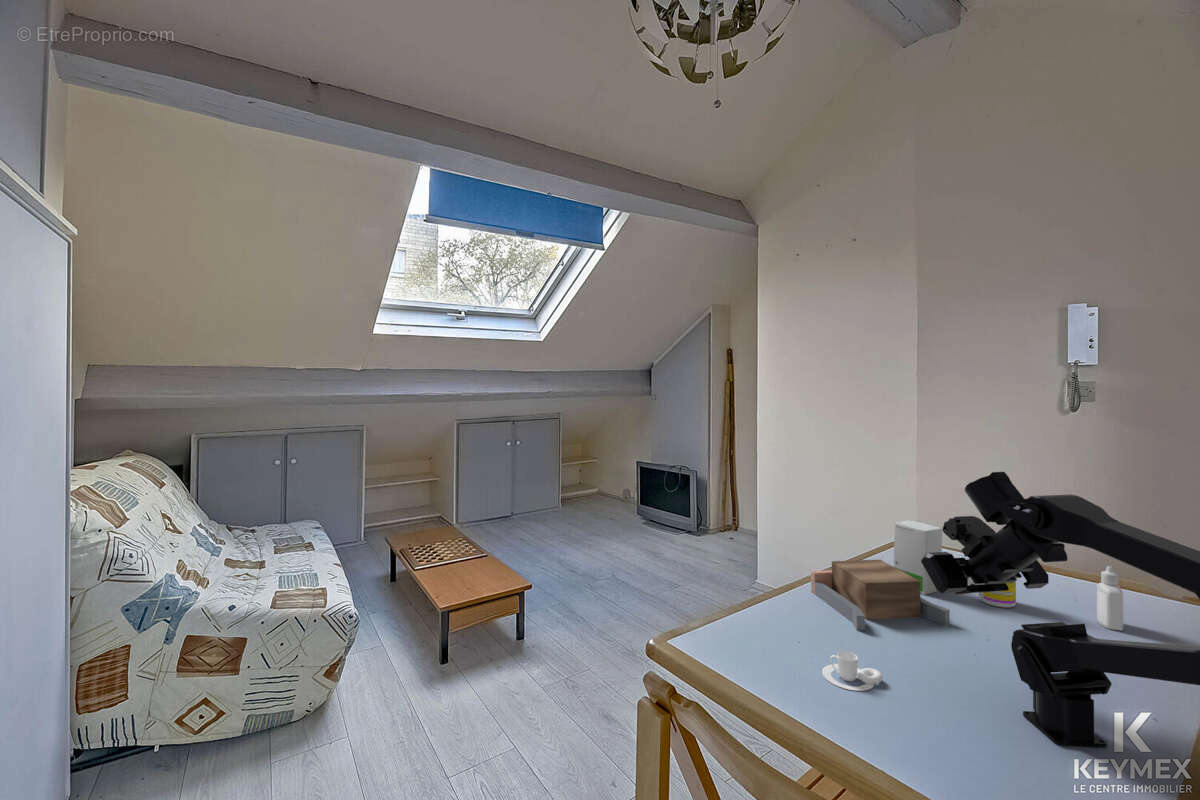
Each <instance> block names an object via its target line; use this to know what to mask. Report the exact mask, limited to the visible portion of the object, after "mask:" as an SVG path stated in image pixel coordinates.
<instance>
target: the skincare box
mask: <svg viewBox="0 0 1200 800" xmlns="http://www.w3.org/2000/svg"><path fill="white" fill-rule="evenodd" d="M893 532H894V539H893V567H895V568H897V569H898V570H900V571H902V572H904V573H906V574H908V575H910V576H911V577H913V578H915V579H917V580H919V581H920V595H924V596H928V595H930V594H933V593H937V592H939V591H938V590H937V589H936V587H935V585H934V584H933V582H932V580H931V578H930V577H929V575H928V573H927V571H926V570H925V568H924V566H923V564H922V562H921V559H922V558H923V557H924V556H925V555H926V554H927V553H934V552H943V551H942V550H943V546H942V545H943V527H942V528H941V527H938V526H934V525H930V524H928V523H924V522H919V521H916V520H911V519H909V520H908V519H907V520H903V521H897V522H895V523H894V531H893Z"/></svg>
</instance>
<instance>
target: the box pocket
mask: <svg viewBox="0 0 1200 800" xmlns="http://www.w3.org/2000/svg"><path fill="white" fill-rule="evenodd" d="M810 572H811V573H810V575H811V576H810V580H811V581H810V583H811V586H810V587H811V591H810V592H811V593H812V594H814V595H815V596H817V597H818V598H819V599H820V600H822V601H824V602H825V603H826V604H827V605H829V606H830V607H831V608H832V609H834V610H835V611H837V612H838V613H839V614H841V615H842V616H843V617H845V619H847V620H848V621H850V622H852V624H853V626H854V628H855V630H856V631H862V632H866V619H865V616H864V614H863V613H862V611H861V609H860V608H859V607H857V606H856V605H854V604H853V603H851V602H850V601H848V600H847V599H846V598H844V597H843V596H841V595H840V594H838V593H837V592H835V591H834V590H832V569H830V570H829V569H828V570H812V571H810ZM920 606H921V616H922V617H923V618H926V619H928V620H930V621H933V622H934V623H938V624H941V625H943V626H948V625H950V623H951V621H950V608H946V607H944V606H942V605H937V604H935V603H933V602H930V601H928V600H927V599H925V598H923V597H921V596H920Z"/></svg>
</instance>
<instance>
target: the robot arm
mask: <svg viewBox="0 0 1200 800" xmlns="http://www.w3.org/2000/svg"><path fill="white" fill-rule="evenodd" d="M964 492H965V494H966V495H967V497H968V498H969V499H970V501H971V502H972V504H973V505H974V506H975V508H976V510H978V512H979V514H981V516H982V517H983V518H982V519H984V520H985V521H983V520H982V519H981V518H980V517H977V516H974V515H964V516H963V515H962V516H954V517H952V518H948V520H947V521H944V522H943V526H942V533H943V534H945V535H946V536H947V538H949V539H950V540H951V541H957V542H959V544H961V545H962V546H963V548H962V549H961V550H960V551H961V552H962V554H963V556H964V557H954V554H952V553H949V552H947V551H942V552H934V553H927V554H926V555H925V556H924V557H923V558H922V559H921V562H922V564H923V566H924V568H925V570H926V571H927V573H928V575H929V577H930V578H931V580H932V582H933V584H934V585H935V587H936V589H937V590H938V592H939V593H941V594H955V595H968V594H979V593H983V592H997V591H1007V590H1008V589H1009V588H1008V586H1007V584H1006V583H1014V582H1015V581H1016V582H1017V580H1018V579H1021V578H1022V577H1024V579H1025V580H1026V581H1025V582H1024V583H1023V586H1024V588H1026V589H1028V590H1031V589H1042V588H1043V587H1045V586H1047V585H1048V584H1049V581H1050V580H1049V574H1048V573H1047V572H1046V570H1045V569H1044V568H1043V566H1042V565H1041V563H1040V562H1039V561H1038V560H1039V559H1040V560H1041V561H1042V562H1043V563H1058V562H1060V563H1061V562H1067V561H1068V554H1067V552H1066V549H1065V544H1068V545H1074V546H1080V547H1085V548H1087V549H1092V550H1094V551H1097V552H1099V553H1101V554H1103V555H1106V556H1108V557H1110V558H1112V559H1115V560H1117V561H1119V562H1122V563H1123V564H1127V565H1128V566H1131V567H1133V568H1136V569H1138V570H1140V571H1143V572H1145V573H1148V575H1152V576H1154V577H1156V578H1158V579H1160V580H1163V581H1165V582H1168V583H1170V584H1173V585H1175V586H1177V587H1179V588H1181V589H1185V590H1187V591H1188V592H1190V593H1193V594H1195V595H1196V597H1197V598H1198V600H1200V550H1198V549H1195V548H1192V547H1190V546H1187V545H1184V544H1180V543H1178V542H1175V541H1172V540H1170V539H1168V538H1165V537H1162V536H1160V535H1156V534H1155V533H1151V532H1148V531H1145V530H1143V529H1140V528H1138V527H1135V526H1132V525H1130V524H1126V523H1123V522H1121V521H1119V520H1117V519H1115V518H1114V517H1111V516H1110V515H1109V514H1108V512H1107V511H1105V510H1104V508H1102V507H1101V506H1099V505H1097V504H1095V503H1093V502H1091V501H1089V500H1087V499H1085V498H1084V497H1082V496H1079V495H1075V494H1052V495H1051V494H1047V495H1030V496H1029V497H1027V498H1025V497H1024V496H1023V495H1022V493H1021V492H1020V491H1019V490H1018V489H1017V487H1016V486H1015V484H1013V482H1012V480H1011V479H1010V477H1009V476H1008V474H1007V473H1006V471H992V472H991V473H990V474H989V475H987V476H982V477H980V478H978V479H976V480H974V481H971V482H968V484H966V486H965V487H964ZM985 522H986V523H985ZM987 523H995V524H996V525H998V526H1002V528H1001V529H999V530H998V531H997V532H996V531H995V530H994V529H993V528H992V527H990V525H988V524H987ZM965 557H967V558H968V559H966V558H965ZM1020 626H1021V627H1022V629H1016V630H1014V631H1013V632H1012V637H1011V643H1010V646H1011V647H1010V648H1011V651H1012V655H1013V658H1014V662H1015V664H1016V665H1015V666H1016V668H1017V672H1018V675H1019V678H1020V681H1022V682H1023V683H1025V684H1026V685H1028V687H1029V689H1030V690H1031V691H1032V694H1033V695H1032V709H1033V711H1031V710H1030V711H1027V710H1023V711H1022V715H1023V717H1024V718H1026V719H1027V720H1028V721H1029V722H1030V723H1031V724H1032V725H1034V727H1036V728H1037V729H1039V731H1040V732H1041V733H1043V734H1044V735H1045V736H1046V737H1047V738H1048V739H1050V740H1051V741H1052V742H1054V743H1055V744H1056V745H1063V746H1065V745H1066V746H1082V747H1083V746H1084V747H1098V748H1099V747H1101V748H1106V747H1108V742H1107V741H1106V740H1104V739H1103V738H1102V737H1101V736H1100V735H1098V734H1097V733H1096V732H1095V700H1094V699H1092V696H1091V695H1107V694H1108V693H1109V691H1110V689H1111V687H1112V682H1111V680H1110V679H1109V678H1108V676H1107V675H1106V673H1107V674H1114V675H1121V676H1128V677H1136V678H1143V679H1148V680H1149V679H1151V680H1157V681H1164V682H1165V681H1166V682H1171V683H1172V682H1173V683H1179V684H1188V685H1195V686H1200V646H1197V645H1196V646H1194V645H1182V644H1172V643H1171V644H1170V643H1169V644H1168V643H1155V642H1144V641H1143V642H1142V641H1131V640H1130V641H1129V640H1116V639H1115V640H1114V639H1103V638H1102V639H1101V638H1097V637H1094V636H1092V635H1090V634H1088V632H1087V627H1086V624H1085V623H1072V624H1068V623H1065V622H1062V621H1059V622H1058V621H1055V622H1054V621H1053V622H1043V623H1042V622H1041V623H1040V622H1039V623H1028V624H1027V623H1026V624H1021V625H1020Z"/></svg>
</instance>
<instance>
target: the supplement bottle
mask: <svg viewBox="0 0 1200 800" xmlns="http://www.w3.org/2000/svg"><path fill="white" fill-rule="evenodd" d="M1016 583H1017V581H1015V582H1014V583H1006V584H1007V586H1008V588H1009V589H1008V590H1007V591H997V592H983V593H978V599H979V601H981V602H983V603H984V604H987V605H990V606H993V607H997V608H1008V609H1009V608H1013V607H1015V606H1016V603H1017V598H1016V597H1017V595H1016V594H1017V588H1016V586H1017V585H1016Z"/></svg>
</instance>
